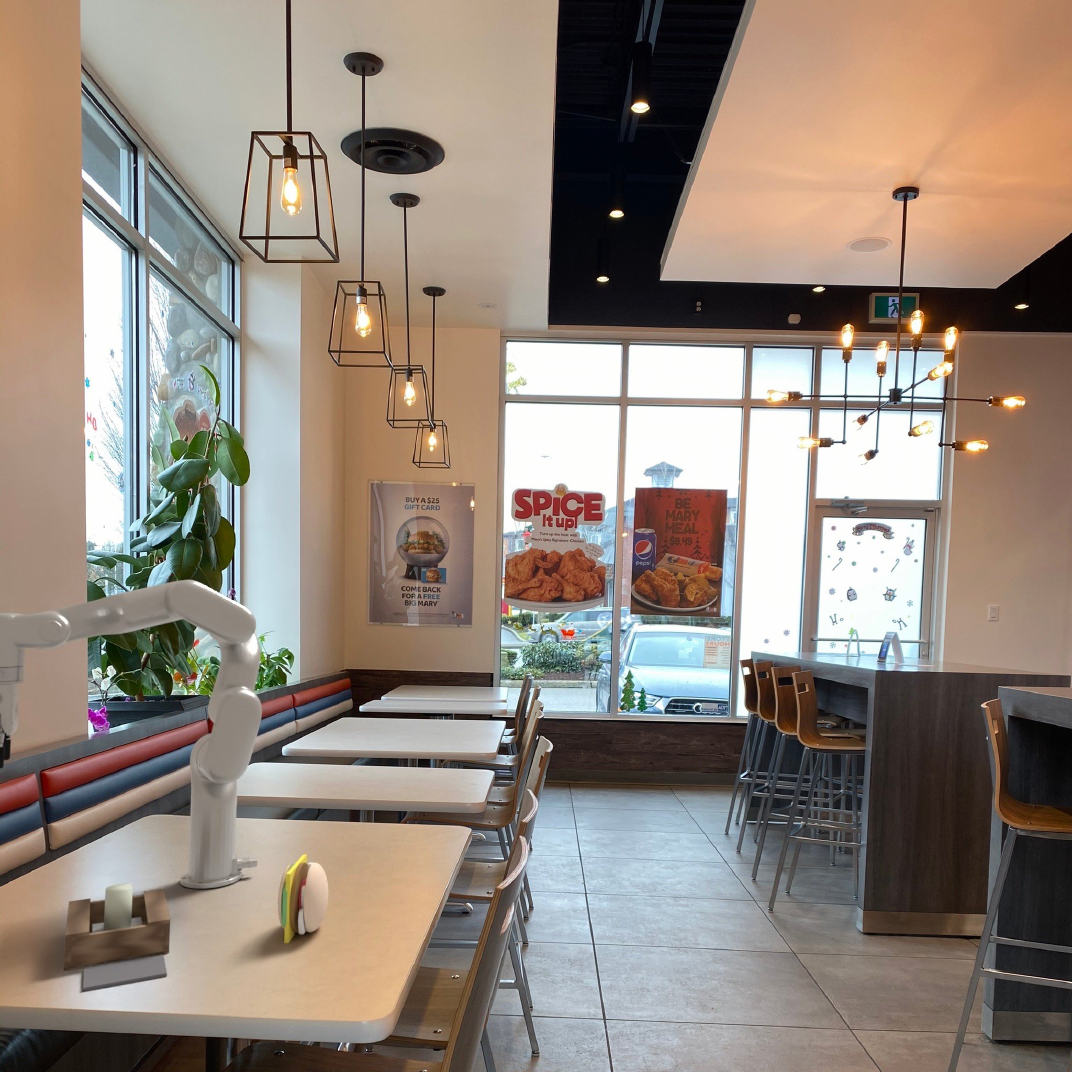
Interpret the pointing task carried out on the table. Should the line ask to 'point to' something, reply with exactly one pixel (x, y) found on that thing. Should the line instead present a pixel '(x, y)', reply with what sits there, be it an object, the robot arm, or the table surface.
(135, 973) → the rubber mat
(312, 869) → the hamburger
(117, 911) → the sage cylinder
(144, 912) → the walnut box
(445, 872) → the table surface
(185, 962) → the table surface
